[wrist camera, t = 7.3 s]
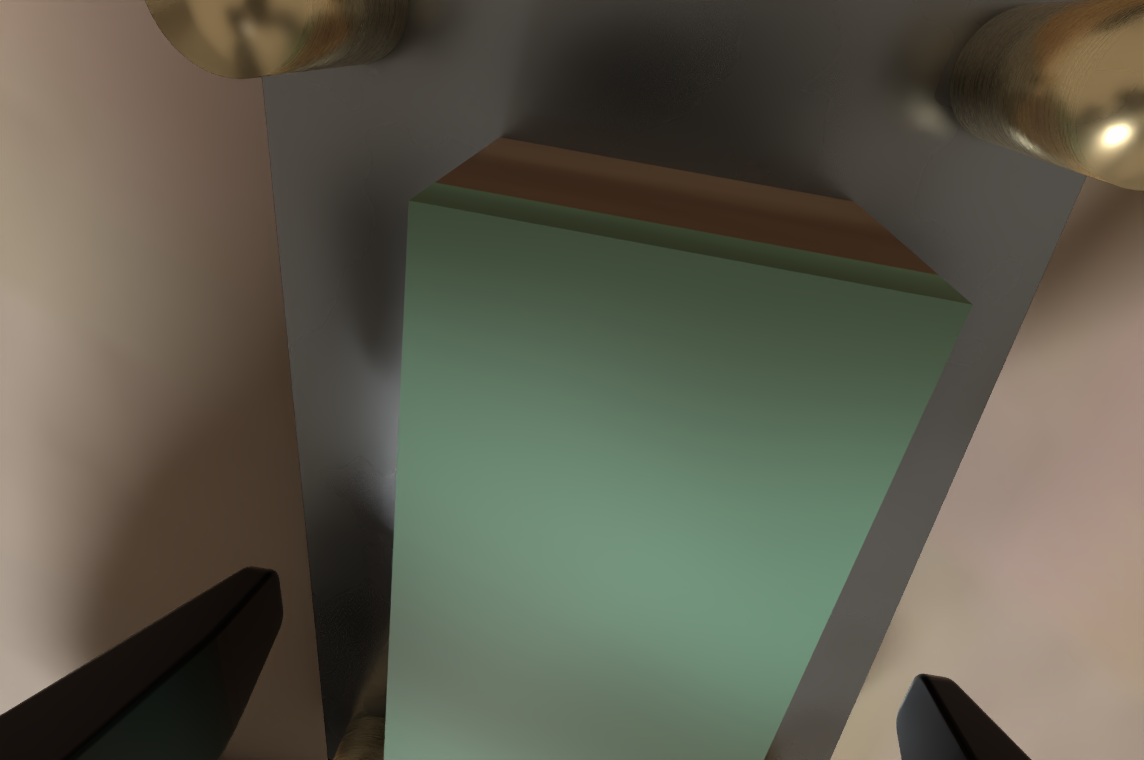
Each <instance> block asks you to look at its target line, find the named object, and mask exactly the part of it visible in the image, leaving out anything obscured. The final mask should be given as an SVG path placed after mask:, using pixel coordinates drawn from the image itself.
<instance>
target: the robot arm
mask: <svg viewBox="0 0 1144 760" xmlns="http://www.w3.org/2000/svg"><path fill="white" fill-rule="evenodd" d="M282 618H283V606H282V598H281V590H280V582H279V576H278V574H277V572H276V571H274V570H271V569H265V568H259V567H252V566H251V567H246V568H243V569H242V570H240V571H238V572H237V573H235V574H233V575H232V576H230V577H228V578H227V579H225V580H223V581H222V582H220V583H218V584H217V585H215V586H213V587H212V588H210V589H208V590H207V591H205V592H203V593H202V594H200V595H199V596H197V597H195V598H194V599H192V600H190V601H189V602H187V603H185V604H184V605H182V606H180V607H179V608H177V609H175V610H174V611H172V612H170V613H169V614H167V615H165V616H164V617H162V618H161V619H159V620H157V621H156V622H154V623H152V624H151V625H149V626H147V627H146V628H144V629H142V630H141V631H139V632H137V633H136V634H134V635H132V636H131V637H129V638H128V639H126V640H124V641H123V642H121V643H119V644H118V645H116V646H114V647H113V648H111V649H109V650H108V651H106V652H104V653H103V654H101V655H99V656H98V657H96V658H94V659H93V660H91V661H90V662H88V663H86V664H85V665H83V666H81V667H80V668H78V669H76V670H75V671H73V672H71V673H70V674H68V675H66V676H65V677H63V678H61V679H60V680H58V681H56V682H55V683H53V684H52V685H50V686H48V687H47V688H45V689H43V690H42V691H40V692H38V693H37V694H35V695H33V696H32V697H30V698H28V699H27V700H25V701H23V702H22V703H20V704H19V705H17V706H15V707H14V708H12V709H10V710H9V711H7V712H5V713H4V714H2V715H0V760H219V759H220V757H221V755H222V753H223V751H224V750H225V748H226V746H227V744H228V742H229V740H230V738H231V737H232V735H233V733H234V731H235V729H236V727H237V725H238V722H239V720H240V718H241V716H242V714H243V712H244V709H245V707H246V705H247V702H248V700H249V698H250V696H251V693H252V691H253V689H254V686H255V684H256V682H257V680H258V677H259V675H260V673H261V670H262V668H263V666H264V664H265V661H266V659H267V657H268V654H269V652H270V650H271V648H272V645H273V643H274V641H275V638H276V636H277V634H278V632H279V629H280V626H281V623H282ZM896 728H897V735H898V741H899V747H900V753H901V759H902V760H1031V759H1030V758H1029V757H1028V756H1027V755H1026V754H1025V753H1024V752H1023V751H1022V750H1021V749H1020V748H1019V747H1018V746H1017V745H1016V744H1015V743H1014V742H1013V741H1012V740H1011V739H1010V738H1009V736H1008V735H1007V734H1006V733H1005V732H1004V731H1003V730H1002V729H1001V728H1000V727H999V726H998V725H997V724H996V723H995V722H994V721H993V720H992V719H991V718H990V717H989V716H988V715H987V714H986V713H985V712H984V711H983V710H982V709H981V708H980V707H979V706H978V705H977V704H976V703H975V702H974V701H973V700H972V699H971V698H970V697H969V696H968V695H967V694H966V693H965V692H964V691H963V690H962V689H961V688H960V687H959V686H958V685H957V684H956V683H955V682H954V681H952V680H951V679H949V678H946V677H941V676H934V675H928V674H919V675H918V676H916V677H915V678H914V680H913V682H912V684H911V686H910V688H909V690H908V692H907V694H906V696H905V698H904V700H903V702H902V704H901V706H900V708H899V711H898V714H897V720H896Z"/></svg>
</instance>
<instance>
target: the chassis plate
mask: <svg viewBox="0 0 1144 760" xmlns="http://www.w3.org/2000/svg"><path fill="white" fill-rule="evenodd" d="M145 1H146V3H147V6H148V8H149V10H150V13H151V15H152V16H153V18H154V20H155V22H156V24H157V25H158V27H159V28H160V30H161V31H162V33H163V34H164V35H165V37H166V38H167V39H168V40H169V41H170V43H171V44H172V45H173V46H174V47H175V48H176V49H177V50H178V51H179V52H180V53H181V54H182V55H183V56H185V57H186V58H187V59H188V60H190V61H191V62H193V63H194V64H196V65H197V66H199V67H200V68H202V69H204V70H206V71H209V72H211V73H213V74H216V75H219V76H223V77H228V78H235V79H246V78H255V77H262V82H263V92H264V102H265V113H266V123H267V133H268V144H269V154H270V164H271V175H272V185H273V196H274V206H275V216H276V227H277V237H278V247H279V258H280V268H281V278H282V289H283V299H284V309H285V320H286V330H287V340H288V351H289V361H290V371H291V382H292V392H293V402H294V413H295V423H296V433H297V444H298V454H299V464H300V475H301V485H302V495H303V506H304V516H305V526H306V537H307V547H308V558H309V568H310V578H311V589H312V599H313V609H314V620H315V630H316V640H317V651H318V661H319V671H320V682H321V692H322V702H323V713H324V723H325V733H326V744H327V754H328V760H384V743H385V721H386V698H387V676H388V654H389V631H390V609H391V587H392V565H393V542H394V520H395V498H396V475H397V453H398V431H399V408H400V386H401V364H402V341H403V319H404V297H405V275H406V252H407V230H408V208H409V200H410V199H412V198H413V197H414V196H416V195H417V194H419V193H420V192H422V191H423V190H425V189H426V188H427V187H429V186H430V185H432V184H433V183H435V182H436V181H438V180H439V179H440V178H442V177H443V176H445V175H446V174H448V173H449V172H450V171H452V170H453V169H455V168H456V167H458V166H459V165H461V164H462V163H463V162H465V161H466V160H468V159H469V158H471V157H472V156H474V155H475V154H476V153H478V152H479V151H481V150H482V149H484V148H485V147H487V146H488V145H489V144H491V143H492V142H494V141H495V140H497V139H498V138H499V137H501V138H507V139H512V140H518V141H523V142H529V143H534V144H540V145H545V146H551V147H556V148H562V149H567V150H573V151H578V152H584V153H589V154H595V155H600V156H606V157H611V158H617V159H622V160H628V161H633V162H639V163H644V164H650V165H655V166H661V167H666V168H672V169H677V170H683V171H688V172H694V173H699V174H705V175H710V176H716V177H721V178H727V179H732V180H738V181H743V182H749V183H754V184H760V185H765V186H771V187H776V188H782V189H787V190H793V191H798V192H804V193H809V194H815V195H820V196H826V197H831V198H837V199H842V200H848V201H853V202H856V203H857V204H858V205H859V206H860V207H861V208H863V209H864V210H865V211H866V212H867V213H868V214H869V215H871V216H872V217H873V218H874V219H875V220H876V221H877V222H879V223H880V224H881V225H882V226H883V227H884V228H886V229H887V230H888V231H889V232H890V233H891V234H892V235H894V236H895V237H896V238H897V239H898V240H899V241H900V242H902V243H903V244H904V245H905V246H906V247H907V248H908V249H910V250H911V251H912V252H913V253H914V254H915V255H917V256H918V257H919V258H920V259H921V260H922V261H923V262H925V263H926V264H927V265H928V266H929V267H930V268H931V269H933V270H934V271H935V272H936V273H937V274H938V275H939V276H941V277H942V278H943V279H944V280H945V281H946V282H948V283H949V284H950V285H951V286H952V287H953V288H954V289H956V290H957V291H958V292H959V293H960V294H961V295H962V296H964V297H965V298H966V299H967V300H968V301H969V302H970V303H972V304H973V306H972V308H971V310H970V312H969V314H968V316H967V319H966V321H965V323H964V325H963V327H962V330H961V332H960V334H959V336H958V338H957V340H956V343H955V345H954V347H953V349H952V351H951V353H950V356H949V358H948V360H947V362H946V364H945V367H944V369H943V371H942V373H941V375H940V377H939V380H938V382H937V384H936V386H935V388H934V390H933V393H932V395H931V397H930V399H929V401H928V404H927V406H926V408H925V410H924V412H923V414H922V417H921V419H920V421H919V423H918V425H917V428H916V430H915V432H914V434H913V436H912V438H911V441H910V443H909V445H908V447H907V449H906V451H905V454H904V456H903V458H902V460H901V462H900V465H899V467H898V469H897V471H896V473H895V475H894V478H893V480H892V482H891V484H890V486H889V488H888V491H887V493H886V495H885V497H884V499H883V502H882V504H881V506H880V508H879V510H878V512H877V515H876V517H875V519H874V521H873V523H872V525H871V528H870V530H869V532H868V534H867V536H866V539H865V541H864V543H863V545H862V547H861V549H860V552H859V554H858V556H857V558H856V560H855V562H854V565H853V567H852V569H851V571H850V573H849V576H848V578H847V580H846V582H845V584H844V586H843V589H842V591H841V593H840V595H839V597H838V600H837V602H836V604H835V606H834V608H833V610H832V613H831V615H830V617H829V619H828V621H827V623H826V626H825V628H824V630H823V632H822V634H821V637H820V639H819V641H818V643H817V645H816V647H815V650H814V652H813V654H812V656H811V658H810V660H809V663H808V665H807V667H806V669H805V671H804V674H803V676H802V678H801V680H800V682H799V684H798V687H797V689H796V691H795V693H794V695H793V697H792V700H791V702H790V704H789V706H788V708H787V711H786V713H785V715H784V717H783V719H782V721H781V724H780V726H779V728H778V730H777V732H776V735H775V737H774V739H773V741H772V743H771V745H770V748H769V750H768V752H767V754H766V756H765V758H764V760H830V759H831V756H832V754H833V752H834V749H835V747H836V745H837V743H838V740H839V738H840V736H841V734H842V731H843V729H844V727H845V724H846V722H847V720H848V718H849V715H850V713H851V711H852V709H853V706H854V704H855V702H856V699H857V697H858V695H859V693H860V690H861V688H862V686H863V683H864V681H865V679H866V677H867V674H868V672H869V670H870V668H871V665H872V663H873V661H874V658H875V656H876V654H877V652H878V649H879V647H880V645H881V643H882V640H883V638H884V636H885V633H886V631H887V629H888V627H889V624H890V622H891V620H892V618H893V615H894V613H895V611H896V608H897V606H898V604H899V602H900V599H901V597H902V595H903V593H904V590H905V588H906V586H907V583H908V581H909V579H910V577H911V574H912V572H913V570H914V568H915V565H916V563H917V561H918V558H919V556H920V554H921V552H922V549H923V547H924V545H925V543H926V540H927V538H928V536H929V533H930V531H931V529H932V527H933V524H934V522H935V520H936V518H937V515H938V513H939V511H940V508H941V506H942V504H943V502H944V499H945V497H946V495H947V493H948V490H949V488H950V486H951V483H952V481H953V479H954V477H955V474H956V472H957V470H958V468H959V465H960V463H961V461H962V458H963V456H964V454H965V452H966V449H967V447H968V445H969V443H970V440H971V438H972V436H973V433H974V431H975V429H976V427H977V424H978V422H979V420H980V418H981V415H982V413H983V411H984V408H985V406H986V404H987V402H988V399H989V397H990V395H991V393H992V390H993V388H994V386H995V383H996V381H997V379H998V377H999V374H1000V372H1001V370H1002V368H1003V365H1004V363H1005V361H1006V358H1007V356H1008V354H1009V352H1010V349H1011V347H1012V345H1013V343H1014V340H1015V338H1016V336H1017V333H1018V331H1019V329H1020V327H1021V324H1022V322H1023V320H1024V317H1025V315H1026V313H1027V311H1028V308H1029V306H1030V304H1031V302H1032V299H1033V297H1034V295H1035V292H1036V290H1037V288H1038V286H1039V283H1040V281H1041V279H1042V277H1043V274H1044V272H1045V270H1046V267H1047V265H1048V263H1049V261H1050V258H1051V256H1052V254H1053V252H1054V249H1055V247H1056V245H1057V242H1058V240H1059V238H1060V236H1061V233H1062V231H1063V229H1064V227H1065V224H1066V222H1067V220H1068V217H1069V215H1070V213H1071V211H1072V208H1073V206H1074V204H1075V202H1076V199H1077V197H1078V195H1079V192H1080V190H1081V188H1082V186H1083V183H1084V181H1085V179H1086V177H1087V176H1090V177H1093V178H1096V179H1099V180H1102V181H1104V182H1107V183H1110V184H1113V185H1116V186H1119V187H1122V188H1126V189H1131V190H1138V191H1144V0H145Z"/></svg>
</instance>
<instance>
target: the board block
mask: <svg viewBox="0 0 1144 760" xmlns="http://www.w3.org/2000/svg"><path fill="white" fill-rule="evenodd" d="M972 306H973V304H972V303H970V302H969V301H968V300H967V299H966V298H965V297H964V296H962V295H961V294H960V293H959V292H958V291H957V290H956V289H954V288H953V287H952V286H951V285H950V284H949V283H948V282H946V281H945V280H944V279H943V278H942V277H941V276H939V275H938V274H937V273H936V272H935V271H934V270H933V269H931V268H930V267H929V266H928V265H927V264H926V263H925V262H923V261H922V260H921V259H920V258H919V257H918V256H917V255H915V254H914V253H913V252H912V251H911V250H910V249H908V248H907V247H906V246H905V245H904V244H903V243H902V242H900V241H899V240H898V239H897V238H896V237H895V236H894V235H892V234H891V233H890V232H889V231H888V230H887V229H886V228H884V227H883V226H882V225H881V224H880V223H879V222H877V221H876V220H875V219H874V218H873V217H872V216H871V215H869V214H868V213H867V212H866V211H865V210H864V209H863V208H861V207H860V206H859V205H858V204H857V203H856V202H853V201H848V200H842V199H837V198H831V197H826V196H820V195H815V194H809V193H804V192H798V191H793V190H787V189H782V188H776V187H771V186H765V185H760V184H754V183H749V182H743V181H738V180H732V179H727V178H721V177H716V176H710V175H705V174H699V173H694V172H688V171H683V170H677V169H672V168H666V167H661V166H655V165H650V164H644V163H639V162H633V161H628V160H622V159H617V158H611V157H606V156H600V155H595V154H589V153H584V152H578V151H573V150H567V149H562V148H556V147H551V146H545V145H540V144H534V143H529V142H523V141H518V140H512V139H507V138H501V137H499V138H498V139H497V140H495V141H494V142H492V143H491V144H489V145H488V146H487V147H485V148H484V149H482V150H481V151H479V152H478V153H476V154H475V155H474V156H472V157H471V158H469V159H468V160H466V161H465V162H463V163H462V164H461V165H459V166H458V167H456V168H455V169H453V170H452V171H450V172H449V173H448V174H446V175H445V176H443V177H442V178H440V179H439V180H438V181H436V182H435V183H433V184H432V185H430V186H429V187H427V188H426V189H425V190H423V191H422V192H420V193H419V194H417V195H416V196H414V197H413V198H412V199H410V200H409V208H408V230H407V252H406V275H405V297H404V319H403V341H402V364H401V386H400V408H399V431H398V453H397V475H396V498H395V520H394V542H393V565H392V587H391V609H390V631H389V654H388V676H387V698H386V721H385V743H384V760H764V758H765V756H766V754H767V752H768V750H769V748H770V745H771V743H772V741H773V739H774V737H775V735H776V732H777V730H778V728H779V726H780V724H781V721H782V719H783V717H784V715H785V713H786V711H787V708H788V706H789V704H790V702H791V700H792V697H793V695H794V693H795V691H796V689H797V687H798V684H799V682H800V680H801V678H802V676H803V674H804V671H805V669H806V667H807V665H808V663H809V660H810V658H811V656H812V654H813V652H814V650H815V647H816V645H817V643H818V641H819V639H820V637H821V634H822V632H823V630H824V628H825V626H826V623H827V621H828V619H829V617H830V615H831V613H832V610H833V608H834V606H835V604H836V602H837V600H838V597H839V595H840V593H841V591H842V589H843V586H844V584H845V582H846V580H847V578H848V576H849V573H850V571H851V569H852V567H853V565H854V562H855V560H856V558H857V556H858V554H859V552H860V549H861V547H862V545H863V543H864V541H865V539H866V536H867V534H868V532H869V530H870V528H871V525H872V523H873V521H874V519H875V517H876V515H877V512H878V510H879V508H880V506H881V504H882V502H883V499H884V497H885V495H886V493H887V491H888V488H889V486H890V484H891V482H892V480H893V478H894V475H895V473H896V471H897V469H898V467H899V465H900V462H901V460H902V458H903V456H904V454H905V451H906V449H907V447H908V445H909V443H910V441H911V438H912V436H913V434H914V432H915V430H916V428H917V425H918V423H919V421H920V419H921V417H922V414H923V412H924V410H925V408H926V406H927V404H928V401H929V399H930V397H931V395H932V393H933V390H934V388H935V386H936V384H937V382H938V380H939V377H940V375H941V373H942V371H943V369H944V367H945V364H946V362H947V360H948V358H949V356H950V353H951V351H952V349H953V347H954V345H955V343H956V340H957V338H958V336H959V334H960V332H961V330H962V327H963V325H964V323H965V321H966V319H967V316H968V314H969V312H970V310H971V308H972Z"/></svg>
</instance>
